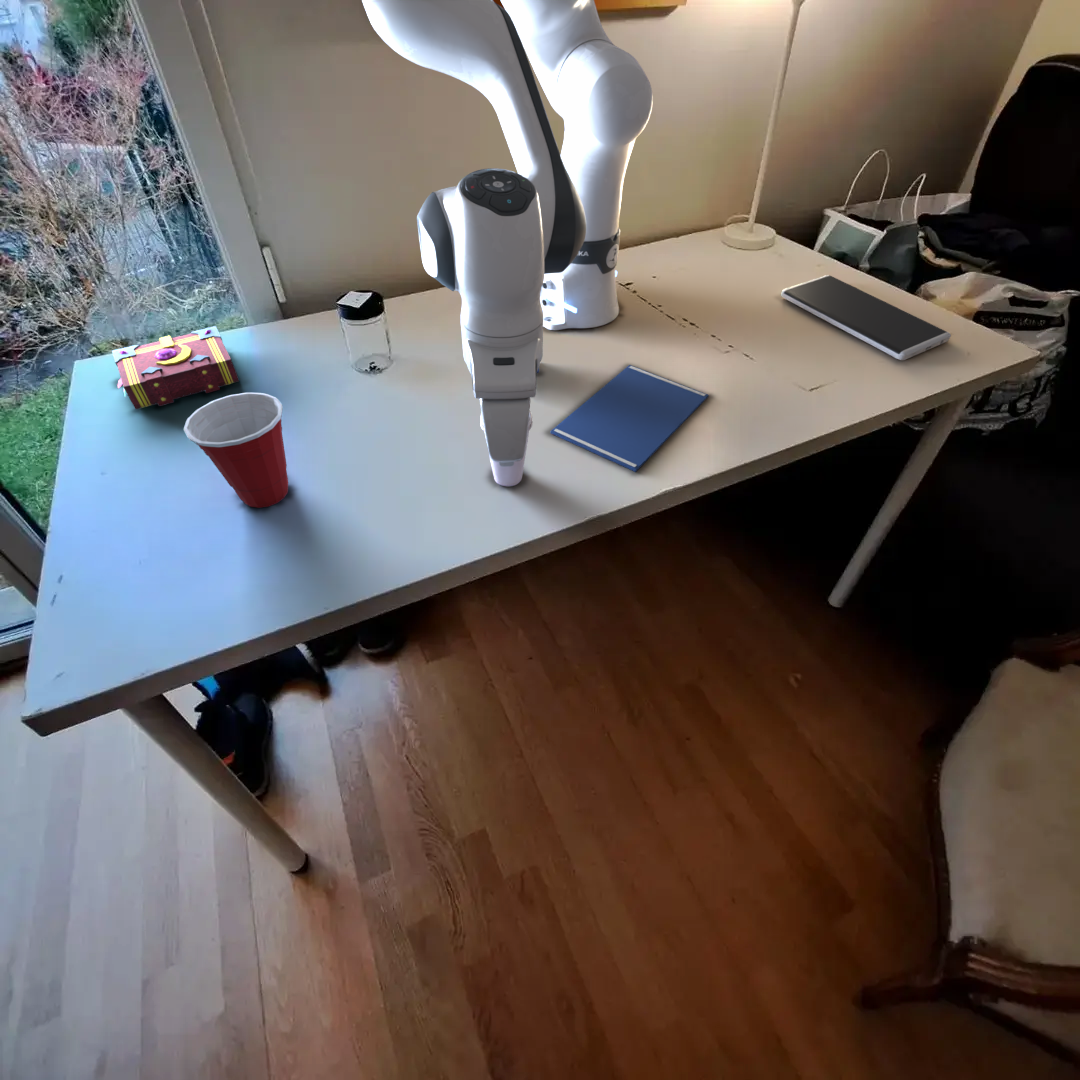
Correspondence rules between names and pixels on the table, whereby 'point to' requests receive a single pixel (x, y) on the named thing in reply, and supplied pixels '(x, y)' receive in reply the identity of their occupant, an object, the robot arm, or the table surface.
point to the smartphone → (866, 317)
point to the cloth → (630, 417)
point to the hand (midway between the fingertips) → (505, 442)
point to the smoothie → (509, 473)
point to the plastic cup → (244, 444)
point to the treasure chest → (174, 367)
